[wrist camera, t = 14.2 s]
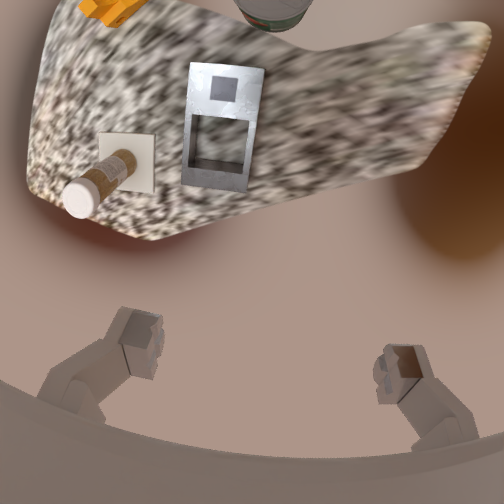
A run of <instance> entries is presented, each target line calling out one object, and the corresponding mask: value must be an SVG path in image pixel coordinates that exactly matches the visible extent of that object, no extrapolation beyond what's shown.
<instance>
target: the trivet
mask: <svg viewBox="0 0 504 504" xmlns="http://www.w3.org/2000/svg"><path fill="white" fill-rule="evenodd" d="M119 149H125V150H128V151H129V152H131V153H132V154H133V155H134V157H135V160H136V169H135V172H134V173H133V174H132V175H131V176H130V177H128V178H127V179H126V180H125V181H124V182H123V183H122V184H121V185H120V186H119V187H118V188H116V190H126V191H135V192H143V193H152V194H153V193H154V172H155V134H145V133H125V132H99V159H100V162H101V161H102V160H104V159H105V158H107V157H109V156H110V155H112V154H113V153H114V152H115V151H116V150H119Z"/></svg>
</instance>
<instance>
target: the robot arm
mask: <svg viewBox="0 0 504 504" xmlns="http://www.w3.org/2000/svg"><path fill="white" fill-rule="evenodd" d="M162 325H163V316H162V315H158V314H154V313H150V312H145V311H141V310H137V309H132V308H128V307H123V306H122V307H121V308H120V309H119V310H118V312H117V314H116V316H115V318H114V320H113V321H112V323H111V325H110V327H109V329H108V331H107V333H106V336H105V337H104V339H98V340H97V341H95V342H94V343H92V344H90V345H89V346H87V347H85V348H84V349H82V350H81V351H79V352H77V353H76V354H74V355H72V356H71V357H69V358H68V359H66V360H64V361H63V362H61V363H60V364H58V365H56V366H55V367H53V368H51V369H50V371H49V373H48V375H47V377H46V379H45V381H44V383H43V385H42V387H41V389H40V391H39V393H38V395H37V397H34V396H32V395H29V394H27V393H25V392H23V391H21V390H19V389H17V388H15V387H13V386H11V385H9V384H7V383H5V382H3V381H1V380H0V504H504V432H501V433H498V434H494V435H491V436H487V437H484V438H479V435H478V431H477V427H476V424H475V421H474V417H473V414H472V412H471V411H470V410H469V409H468V408H467V407H466V406H465V405H464V404H463V403H462V402H461V401H460V400H459V399H458V398H457V397H456V396H455V395H454V394H453V393H452V392H451V391H450V390H449V389H448V388H447V387H446V386H445V385H444V384H443V383H442V382H441V381H440V380H439V379H438V378H435V377H434V374H433V372H432V369H431V366H430V363H429V360H428V357H427V354H426V351H425V349H424V347H423V346H422V345H410V344H388V345H386V346H385V348H384V349H383V352H384V354H383V355H381V356H379V357H378V358H377V360H376V362H375V364H374V368H373V377H374V381H375V382H376V383H377V384H378V387H377V389H376V392H377V397H378V402H379V404H398V407H399V409H400V410H401V411H402V413H403V414H404V415H405V417H406V418H407V420H408V421H409V422H410V424H411V425H412V427H413V428H414V429H415V431H416V432H417V434H418V435H419V436H420V438H421V439H419V440H418V441H417V442H416V443H414V444H413V445H412V447H411V449H412V452H408V453H401V454H392V455H382V456H369V457H355V458H354V457H353V458H289V457H272V456H259V455H249V454H239V453H232V452H224V451H217V450H211V449H204V448H199V447H193V446H188V445H182V444H178V443H173V442H168V441H164V440H160V439H155V438H151V437H147V436H144V435H140V434H136V433H132V432H129V431H125V430H122V429H118V428H115V427H112V426H109V425H106V424H104V423H105V420H106V418H105V416H104V414H103V412H102V411H101V409H100V407H99V406H98V404H99V403H100V402H101V401H102V400H104V399H105V398H106V397H107V396H108V395H109V394H110V393H112V392H113V391H114V390H115V389H117V388H118V387H119V386H120V385H121V384H122V383H123V382H125V381H126V380H127V379H128V378H129V377H130V375H132V376H136V377H141V378H145V379H150V380H153V378H154V374H155V372H156V369H157V358H158V357H159V356H161V353H162V350H163V344H164V330H163V329H162V328H161V327H162Z"/></svg>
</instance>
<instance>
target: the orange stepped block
mask: <svg viewBox="0 0 504 504" xmlns="http://www.w3.org/2000/svg"><path fill="white" fill-rule="evenodd" d="M147 1H148V0H83V1H82V2H81V3H80V4H79V5H78V7H79V8H80V10H81V11H82V12H83V13H84V14H85V15H86V17H88V18H96V19H100V20H101V21H102V22H103V23H104V24H105V26H106V27H113V28H118V27H119V26H120V25H121V24H122V23H123V22H124V21H125V20H126V19H128V18H129V17H130V16H131V15H132V14H133V13H134V12H135V11H137V10H138V9H139V8H140V7H141V6H142V5H144V4H145V3H146V2H147Z"/></svg>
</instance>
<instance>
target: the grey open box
mask: <svg viewBox="0 0 504 504" xmlns="http://www.w3.org/2000/svg"><path fill="white" fill-rule="evenodd" d="M265 70H266V69H262V68H254V67H246V66H237V65H227V64H216V63H201V62H191V63H190V72H189V81H188V91H187V101H186V113H185V125H184V139H183V155H182V174H181V185H189V186H197V187H205V188H212V189H219V190H227V191H234V192H240V193H246V191H247V187H248V182H249V176H250V169H251V162H252V155H253V148H254V142H255V135H256V128H257V122H258V115H259V109H260V102H261V96H262V89H263V83H264V76H265ZM199 115H207V116H217V117H226V118H234V119H242V120H249V121H250V123H249V130H248V137H247V144H246V151H245V158H244V164H237V163H230V162H222V161H215V160H207V159H198V158H195V154H196V141H197V129H198V118H199Z"/></svg>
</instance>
